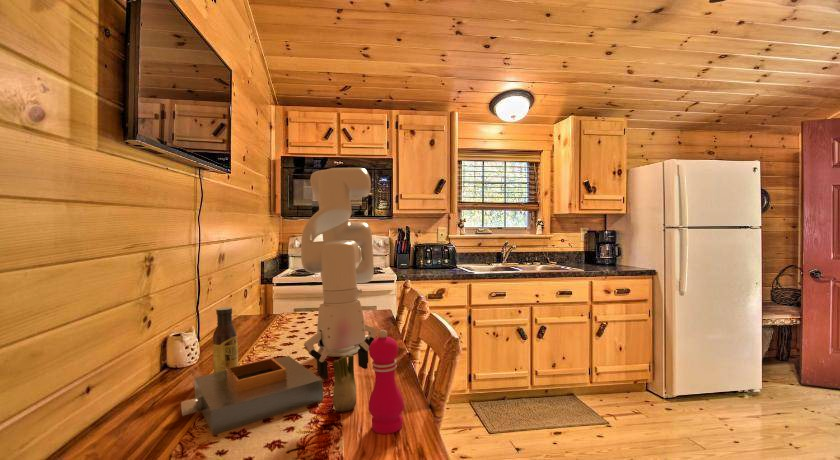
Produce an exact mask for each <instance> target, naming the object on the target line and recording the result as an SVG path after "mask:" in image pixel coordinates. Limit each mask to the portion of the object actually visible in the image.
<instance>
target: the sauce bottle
mask: <svg viewBox="0 0 840 460" xmlns="http://www.w3.org/2000/svg"><path fill="white" fill-rule="evenodd" d="M215 311H216V317H217V322H216V324H217V326H216V328H215V330H214V332H213V334H212V335H213V336H212V337H213V339H212V340H213V342H212V352H213V353H212V354H213V359H212V360H213V373H217V372H221V371H225V370H226V368H230V367H234V366H238V365H239V348H238V347H239V345H238V344H239V343H238V342H239V341H238V334H237V332H236V330H235V327H234V324H233V317H232V316H233V308H232V307H227V306H226V307H221V308H217V309H216V310H215Z"/></svg>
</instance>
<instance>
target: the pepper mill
mask: <svg viewBox="0 0 840 460" xmlns="http://www.w3.org/2000/svg"><path fill="white" fill-rule="evenodd" d="M398 355H399V345H398V343H397V341H396V340H395V339H394V338H392V337H390V336H388V331H387V330H385V329H380V330H379V332H378V337H376V338H374V340H373V341H372V342H371V344H370V347H369V351H368V356H369V357H370V358H371V359H372V362H371V365H372V367H371V369H372V370H373V371H374V375H375V379H374V380H375V381H374V386H373V388H372V392H371V394H370V397H369V400H368V411H369V414H370V415H371V416H372V418H371V429H372V431H374V432H375V433H377V434H380V435H390V434H394V433H397V432H399V431H400V430H401V429H402V427H403V416H402V413H403V411H404V408H405V402H404V398H403V395H402V392H401V390H400V389H399V387H398V385H397V381H396V377H395V371H396V369H397V367H398V365H397V360H396V358H397V357H398Z"/></svg>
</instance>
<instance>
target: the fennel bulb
mask: <svg viewBox="0 0 840 460" xmlns="http://www.w3.org/2000/svg"><path fill="white" fill-rule="evenodd" d="M354 359H355V357H354V354H351V355H347V356H341V357H339V358H338V359H334V360H333V362H332V365H333V371H334V372H333V373H334V374H333V375H334V381H333V382H334V383H333V390H332V392H333V393H332V395H333V396H332V401H333V408H334V410H335V411H337V412H340V413H342V412H343V413H344V412H348V411H350V410H353V409H354V408H355V406H356V405H357V386H356V378H355V367H354V365H355V364H354V363H355V362H354V361H355V360H354Z"/></svg>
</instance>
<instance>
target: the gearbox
mask: <svg viewBox="0 0 840 460" xmlns="http://www.w3.org/2000/svg"><path fill="white" fill-rule="evenodd" d="M193 383H194V384H193V385H194V398H192V399H185V400H184V401H181V403H180V407H181V409H180V410H181V415H182V417H184V416H188V415H191V414H194V413H197V412H201V413H202V415H203V417H204V419H205V422H206V425H207V426H208V428H209V431H210V433H211V434H212V435H214V436H215V435H216V434H220V433H222V432H226V431H230V430H232V429H233V430H234V429H236V428H239V427H242V426H246V425H248V424H252V423H255V422H258V421H262V420H265V419H267V418H271V417H275V416H277V415H281V414H283V413H286V412H287V413H288V412H291V411H293V410H297V409H300V408H303V407H307V406H310V405H314V404H316V403H320V402H323V401H324V390H323V389H324V388H323V387H324V386H323V379H322V378H321V377H320V376H319V375H316V374H315V373H313V371H311V370H309V369H308V368H307V367H305V366H304V365H303V364H302V363H299V362H298V361H297V360H295V359H294V358H293V357H291V356H290V355H287V356H283V357H279V358H278V357H277V358H274V357H270V358H265V359H261V360H257V361H253V362H247V363H244V364H238V366H234V367H230V368H226V370H225V371H221V372H217V373H214V372H213V373H212V372H211V373H208V374H205V375H200V376H196V377H193Z"/></svg>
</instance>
